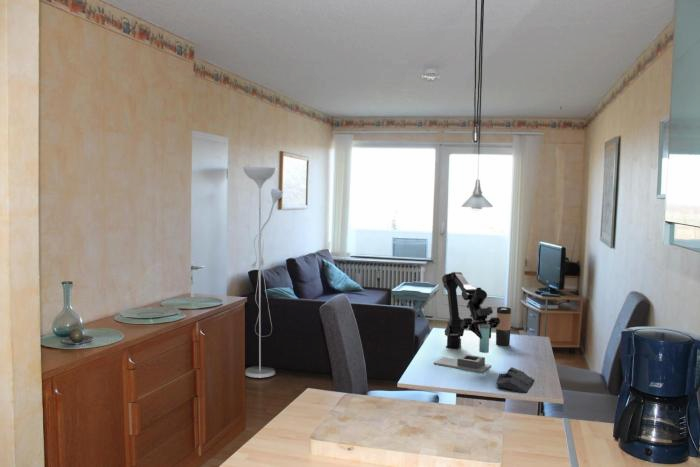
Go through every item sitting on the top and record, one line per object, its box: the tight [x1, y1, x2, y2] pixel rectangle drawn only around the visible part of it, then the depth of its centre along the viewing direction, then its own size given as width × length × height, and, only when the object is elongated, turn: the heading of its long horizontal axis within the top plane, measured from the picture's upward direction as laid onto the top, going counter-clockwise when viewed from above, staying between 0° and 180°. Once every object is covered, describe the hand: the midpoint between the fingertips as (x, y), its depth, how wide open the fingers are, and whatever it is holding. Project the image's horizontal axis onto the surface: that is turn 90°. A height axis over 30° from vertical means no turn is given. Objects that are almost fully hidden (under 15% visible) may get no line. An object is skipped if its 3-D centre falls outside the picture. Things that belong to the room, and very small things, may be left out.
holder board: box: [433, 353, 492, 374], centre depth 276 cm, size 24×12×4 cm, turn 59°
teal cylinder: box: [478, 324, 490, 354], centre depth 276 cm, size 5×5×13 cm
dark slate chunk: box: [495, 367, 535, 394], centre depth 250 cm, size 15×22×5 cm
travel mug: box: [495, 306, 512, 347], centre depth 318 cm, size 8×8×20 cm
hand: (485, 338), depth 274 cm, fingers closed on teal cylinder, 4 cm apart
